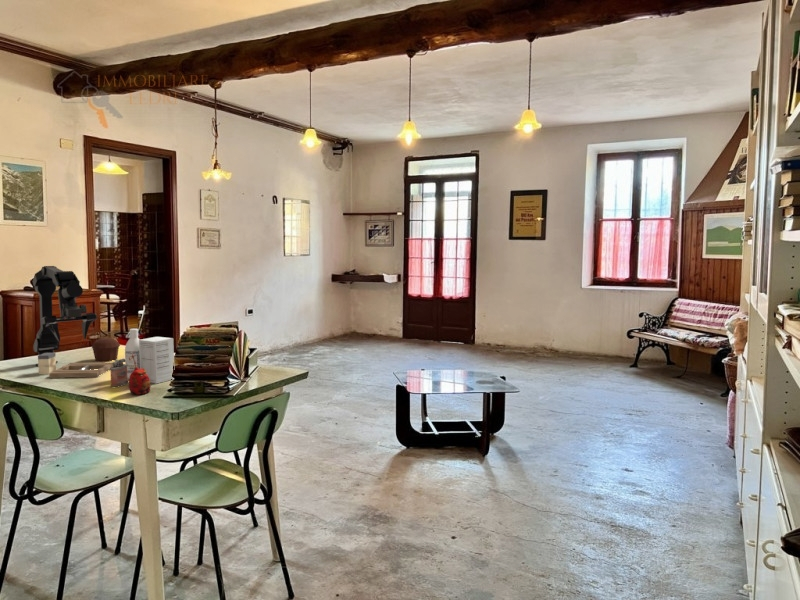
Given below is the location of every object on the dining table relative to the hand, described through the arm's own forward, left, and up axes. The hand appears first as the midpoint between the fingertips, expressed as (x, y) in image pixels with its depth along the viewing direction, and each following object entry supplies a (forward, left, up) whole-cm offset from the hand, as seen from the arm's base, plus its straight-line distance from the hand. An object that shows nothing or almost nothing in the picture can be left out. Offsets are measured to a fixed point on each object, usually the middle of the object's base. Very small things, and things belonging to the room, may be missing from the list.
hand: (72, 340), depth 219 cm
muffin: (-34, 0, -16) cm, 38 cm away
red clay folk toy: (+26, +33, -16) cm, 45 cm away
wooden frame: (-9, 0, -15) cm, 18 cm away
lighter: (+14, +22, -16) cm, 30 cm away
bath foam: (+2, +24, -16) cm, 29 cm away
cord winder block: (-9, -14, -15) cm, 23 cm away
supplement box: (+7, +34, -16) cm, 38 cm away
